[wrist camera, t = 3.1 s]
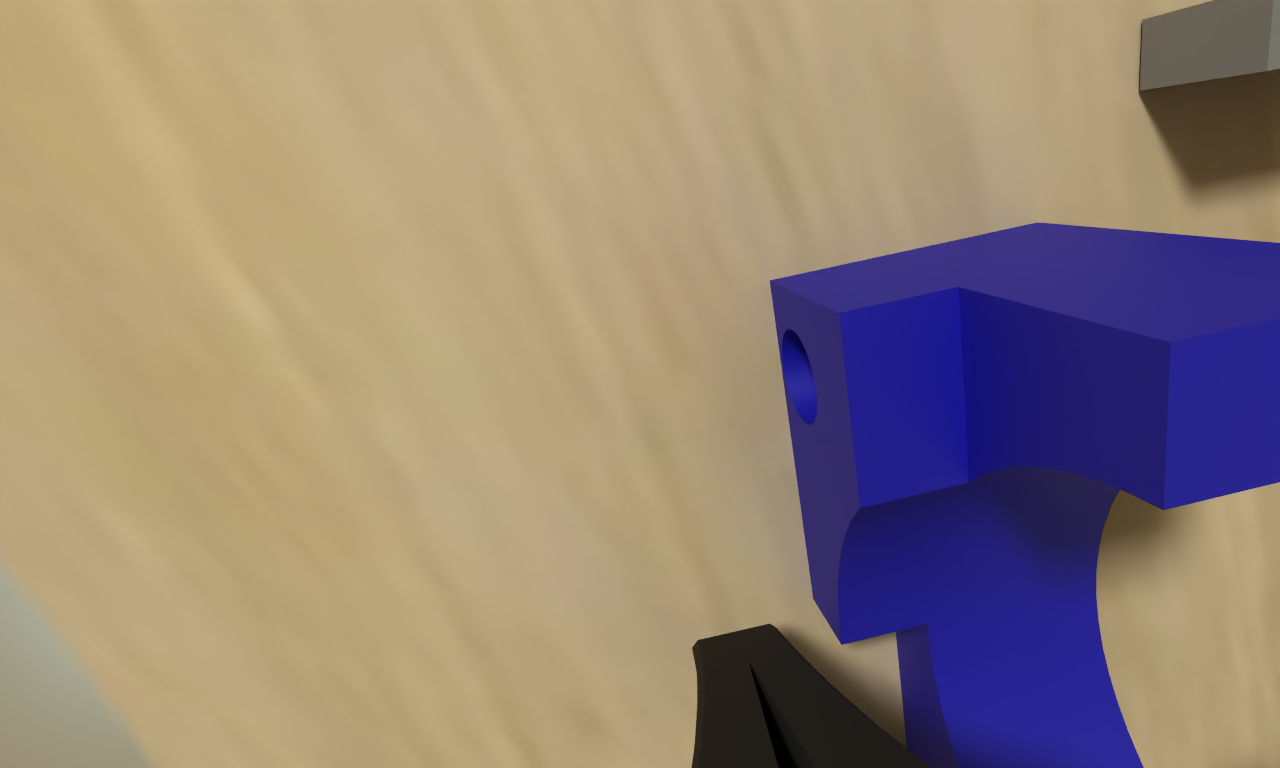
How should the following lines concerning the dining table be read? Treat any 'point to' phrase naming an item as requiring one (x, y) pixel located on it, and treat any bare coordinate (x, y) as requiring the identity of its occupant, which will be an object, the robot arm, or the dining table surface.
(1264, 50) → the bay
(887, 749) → the robot arm
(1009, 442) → the blue plastic bracket
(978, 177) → the dining table surface
